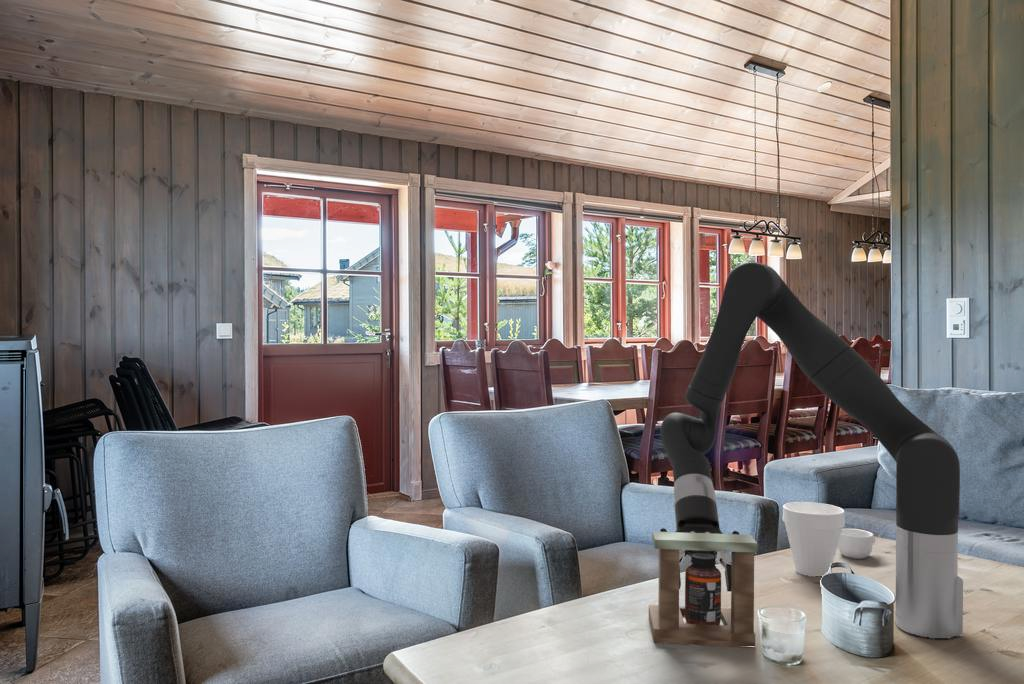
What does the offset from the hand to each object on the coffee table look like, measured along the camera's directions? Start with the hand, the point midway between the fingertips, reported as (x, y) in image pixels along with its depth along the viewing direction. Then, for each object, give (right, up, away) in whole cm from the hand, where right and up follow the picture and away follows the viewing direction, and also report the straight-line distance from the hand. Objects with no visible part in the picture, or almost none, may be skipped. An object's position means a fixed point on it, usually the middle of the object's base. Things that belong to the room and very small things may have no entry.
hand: (704, 588), depth 124 cm
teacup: (+47, -8, +46) cm, 66 cm away
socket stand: (-1, -7, 0) cm, 7 cm away
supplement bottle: (0, -7, +2) cm, 7 cm away
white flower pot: (+32, -8, +33) cm, 47 cm away
